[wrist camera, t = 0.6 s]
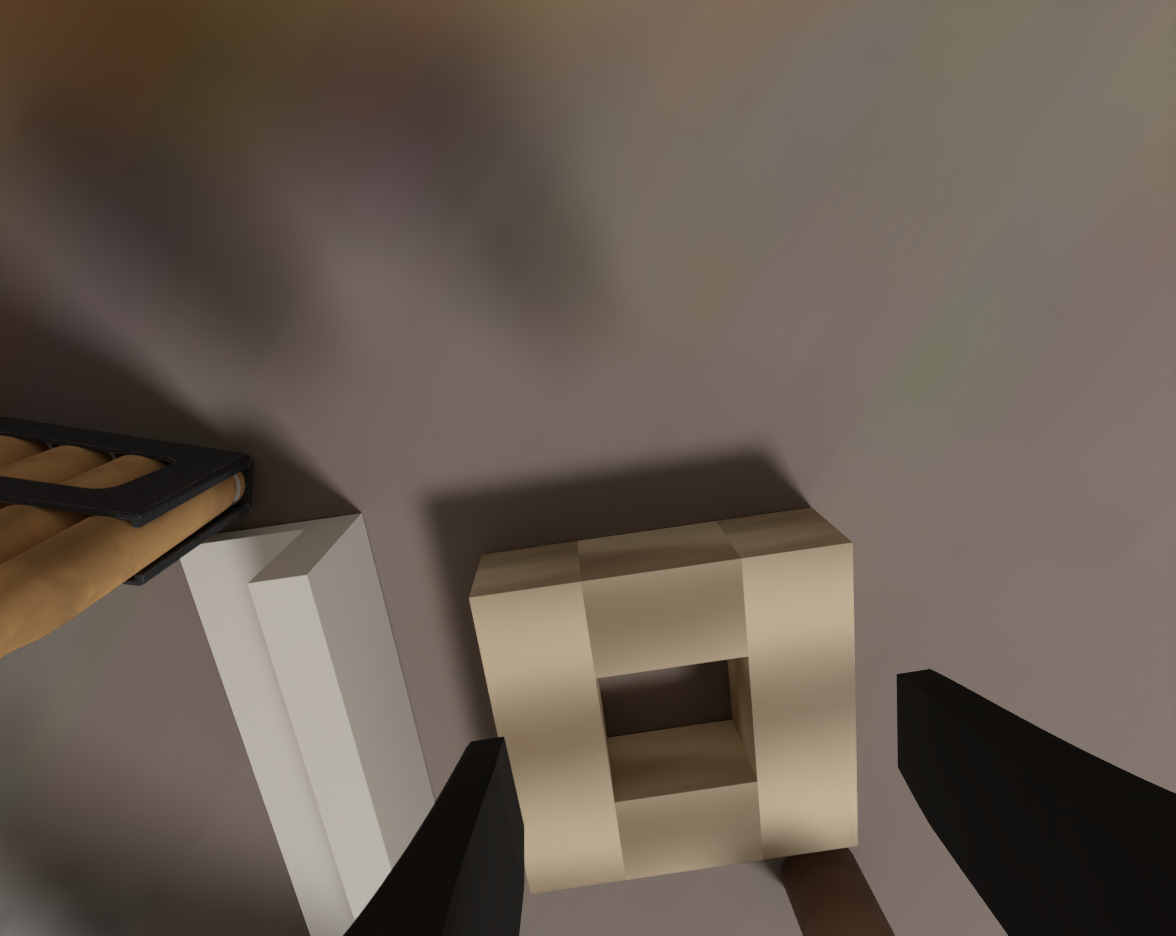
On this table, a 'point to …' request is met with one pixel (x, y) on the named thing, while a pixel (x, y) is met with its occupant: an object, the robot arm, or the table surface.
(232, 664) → the white rectangular slab
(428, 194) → the table surface
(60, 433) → the ammunition clip
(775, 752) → the block
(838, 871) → the dowel
